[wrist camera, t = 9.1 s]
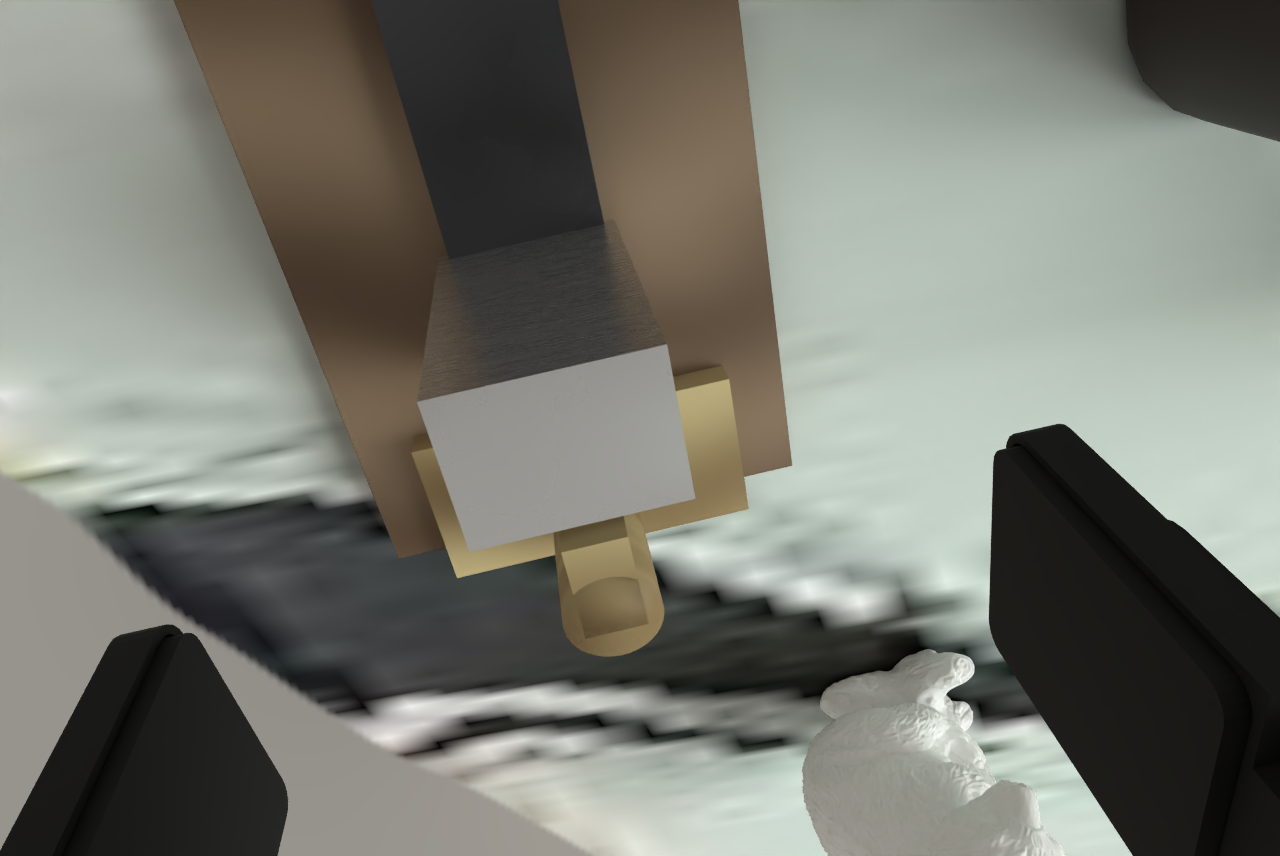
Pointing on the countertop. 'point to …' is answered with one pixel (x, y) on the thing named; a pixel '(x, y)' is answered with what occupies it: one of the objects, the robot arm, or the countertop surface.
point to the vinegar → (1212, 59)
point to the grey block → (527, 284)
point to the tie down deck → (412, 243)
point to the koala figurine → (913, 771)
